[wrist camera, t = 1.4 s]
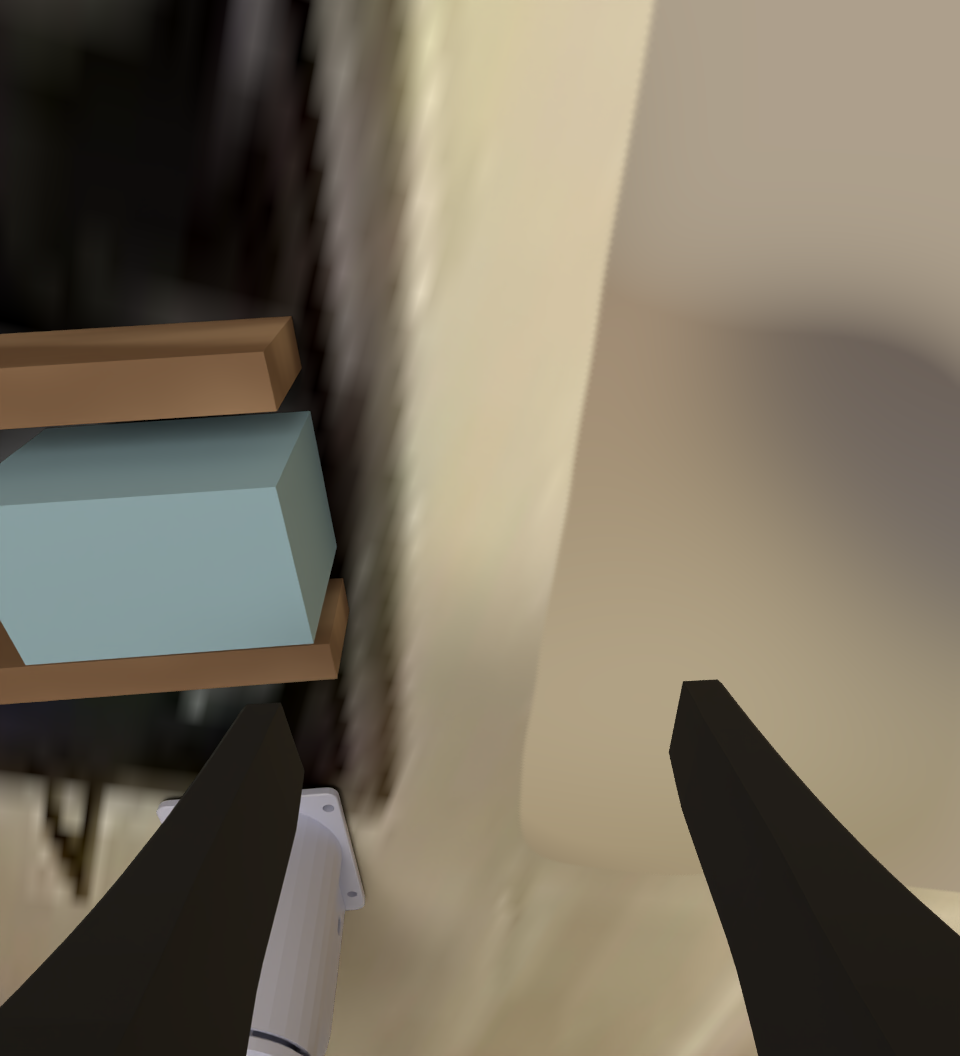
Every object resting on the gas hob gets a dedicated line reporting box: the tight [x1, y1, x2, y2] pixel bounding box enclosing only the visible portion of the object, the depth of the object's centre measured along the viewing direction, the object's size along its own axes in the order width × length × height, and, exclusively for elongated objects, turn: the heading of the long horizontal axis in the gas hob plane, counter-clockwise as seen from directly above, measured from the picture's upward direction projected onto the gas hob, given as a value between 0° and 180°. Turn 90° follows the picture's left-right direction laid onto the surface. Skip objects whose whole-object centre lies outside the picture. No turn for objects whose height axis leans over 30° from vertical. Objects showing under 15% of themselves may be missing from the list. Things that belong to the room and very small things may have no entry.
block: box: [0, 411, 337, 665], centre depth 19 cm, size 5×8×5 cm, turn 93°
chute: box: [0, 316, 349, 704], centre depth 19 cm, size 11×12×4 cm
